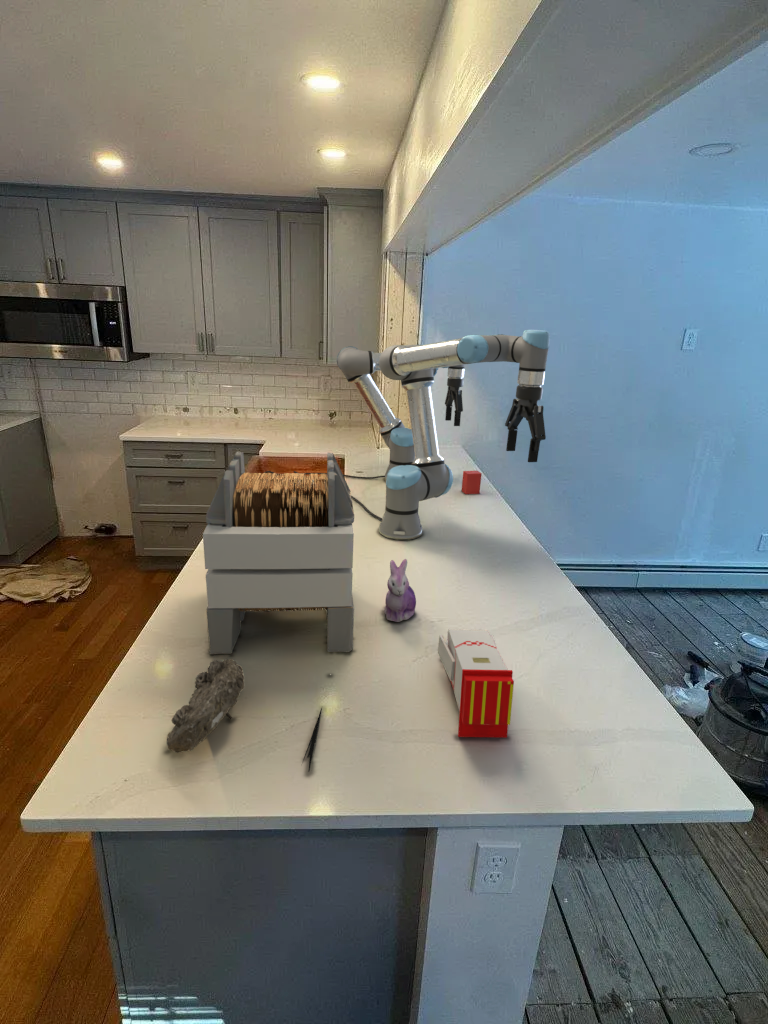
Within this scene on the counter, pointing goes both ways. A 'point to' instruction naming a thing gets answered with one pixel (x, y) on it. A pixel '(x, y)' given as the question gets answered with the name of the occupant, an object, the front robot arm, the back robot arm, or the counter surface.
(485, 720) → the toy
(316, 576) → the record crate
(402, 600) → the figurine
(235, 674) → the fossil
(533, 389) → the front robot arm
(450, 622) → the counter surface
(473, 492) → the block
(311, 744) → the feather
